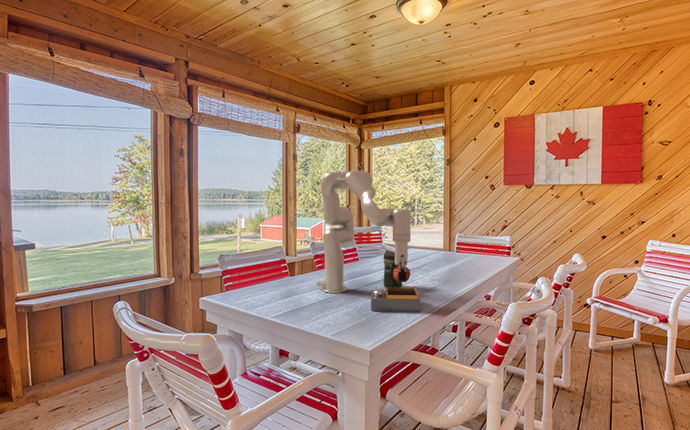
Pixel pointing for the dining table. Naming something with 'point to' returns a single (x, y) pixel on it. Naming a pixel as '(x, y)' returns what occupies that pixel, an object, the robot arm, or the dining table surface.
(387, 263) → the coffee jar
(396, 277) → the pomegranate
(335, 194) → the robot arm
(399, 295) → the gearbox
